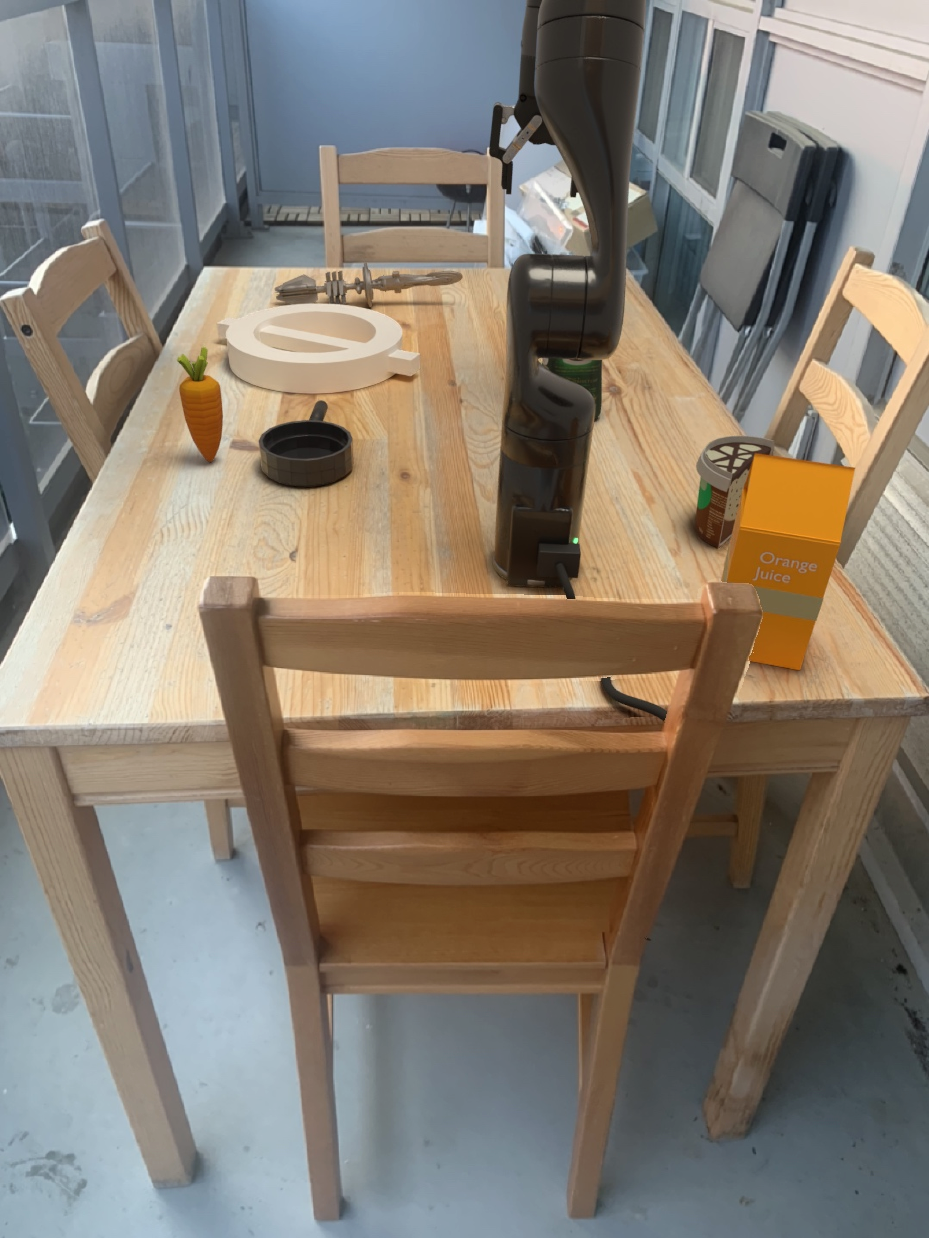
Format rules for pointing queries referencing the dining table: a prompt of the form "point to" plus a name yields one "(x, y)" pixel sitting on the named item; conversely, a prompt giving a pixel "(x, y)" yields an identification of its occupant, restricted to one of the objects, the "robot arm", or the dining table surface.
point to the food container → (724, 483)
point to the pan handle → (319, 411)
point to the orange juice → (788, 548)
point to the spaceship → (358, 285)
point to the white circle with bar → (316, 348)
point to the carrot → (202, 405)
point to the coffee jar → (580, 375)
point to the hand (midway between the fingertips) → (540, 195)
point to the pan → (306, 453)
